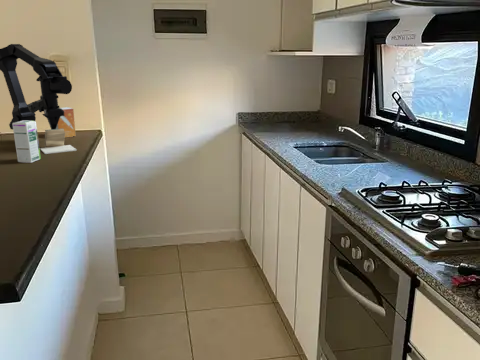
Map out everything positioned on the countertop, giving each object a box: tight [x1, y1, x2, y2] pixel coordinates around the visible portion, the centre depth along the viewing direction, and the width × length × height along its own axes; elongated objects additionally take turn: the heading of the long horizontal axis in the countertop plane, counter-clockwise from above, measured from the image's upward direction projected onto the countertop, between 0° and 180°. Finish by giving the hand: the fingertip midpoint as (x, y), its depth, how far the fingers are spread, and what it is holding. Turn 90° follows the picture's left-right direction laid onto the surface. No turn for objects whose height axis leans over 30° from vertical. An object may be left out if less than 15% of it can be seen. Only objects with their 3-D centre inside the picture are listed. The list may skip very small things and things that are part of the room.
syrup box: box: [12, 120, 42, 164], centre depth 167 cm, size 6×6×14 cm
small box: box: [56, 106, 77, 139], centre depth 212 cm, size 8×6×13 cm
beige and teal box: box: [44, 128, 66, 147], centre depth 189 cm, size 3×7×8 cm
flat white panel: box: [39, 144, 77, 155], centre depth 187 cm, size 10×12×1 cm
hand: (53, 131), depth 189 cm, fingers closed
